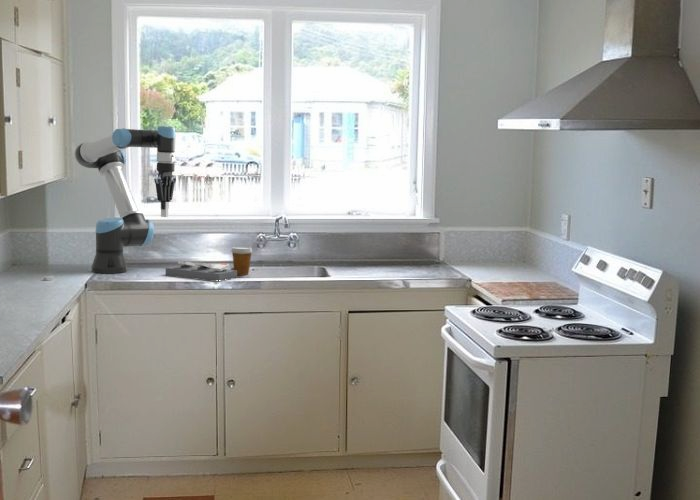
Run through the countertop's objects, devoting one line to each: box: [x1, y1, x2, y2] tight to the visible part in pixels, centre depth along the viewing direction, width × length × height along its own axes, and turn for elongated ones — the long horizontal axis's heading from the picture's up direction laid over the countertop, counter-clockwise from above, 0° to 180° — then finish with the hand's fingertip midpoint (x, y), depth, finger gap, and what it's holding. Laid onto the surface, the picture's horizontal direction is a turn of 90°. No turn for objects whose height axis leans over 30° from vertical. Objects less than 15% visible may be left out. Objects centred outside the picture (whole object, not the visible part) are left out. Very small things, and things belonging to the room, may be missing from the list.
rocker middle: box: [194, 261, 213, 268], centre depth 372 cm, size 4×7×1 cm, turn 155°
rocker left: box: [177, 260, 196, 266], centre depth 376 cm, size 4×7×1 cm, turn 155°
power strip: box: [164, 264, 238, 282], centre depth 371 cm, size 28×14×4 cm, turn 65°
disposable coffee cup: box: [230, 246, 253, 276], centre depth 382 cm, size 10×10×12 cm
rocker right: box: [212, 262, 230, 271], centre depth 368 cm, size 4×7×1 cm, turn 155°
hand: (164, 216), depth 368 cm, fingers closed
